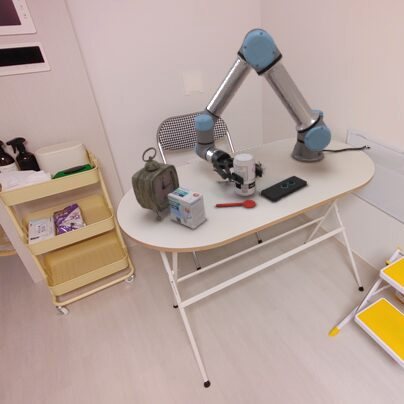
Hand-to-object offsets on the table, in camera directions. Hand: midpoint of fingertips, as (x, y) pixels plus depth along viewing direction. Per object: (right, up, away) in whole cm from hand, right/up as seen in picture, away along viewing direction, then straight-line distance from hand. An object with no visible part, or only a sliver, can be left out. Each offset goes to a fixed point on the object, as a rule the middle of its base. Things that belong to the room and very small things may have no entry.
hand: (252, 177), depth 114 cm
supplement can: (-3, -5, +7) cm, 9 cm away
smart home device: (+13, -4, +11) cm, 18 cm away
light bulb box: (-22, -16, -6) cm, 28 cm away
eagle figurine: (0, +3, +22) cm, 22 cm away
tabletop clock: (-34, -13, -1) cm, 36 cm away
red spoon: (-6, -10, +2) cm, 12 cm away
